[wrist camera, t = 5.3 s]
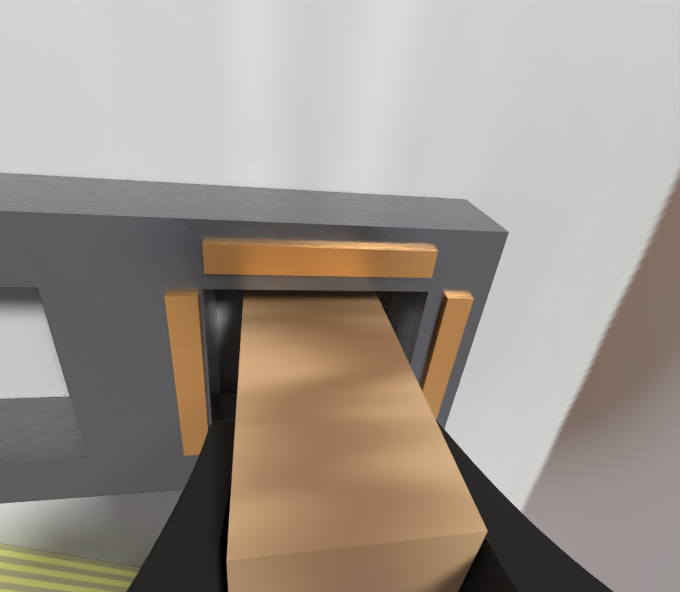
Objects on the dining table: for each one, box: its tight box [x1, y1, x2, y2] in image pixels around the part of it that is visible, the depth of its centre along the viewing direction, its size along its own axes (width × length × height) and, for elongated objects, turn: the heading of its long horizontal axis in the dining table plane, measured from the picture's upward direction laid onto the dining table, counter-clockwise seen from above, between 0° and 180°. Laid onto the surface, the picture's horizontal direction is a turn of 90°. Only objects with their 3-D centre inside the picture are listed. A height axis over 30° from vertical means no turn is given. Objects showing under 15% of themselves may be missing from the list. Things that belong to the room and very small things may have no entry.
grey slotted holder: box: [0, 173, 509, 503], centre depth 13 cm, size 20×10×3 cm, turn 84°
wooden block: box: [227, 290, 488, 592], centre depth 11 cm, size 4×4×8 cm
